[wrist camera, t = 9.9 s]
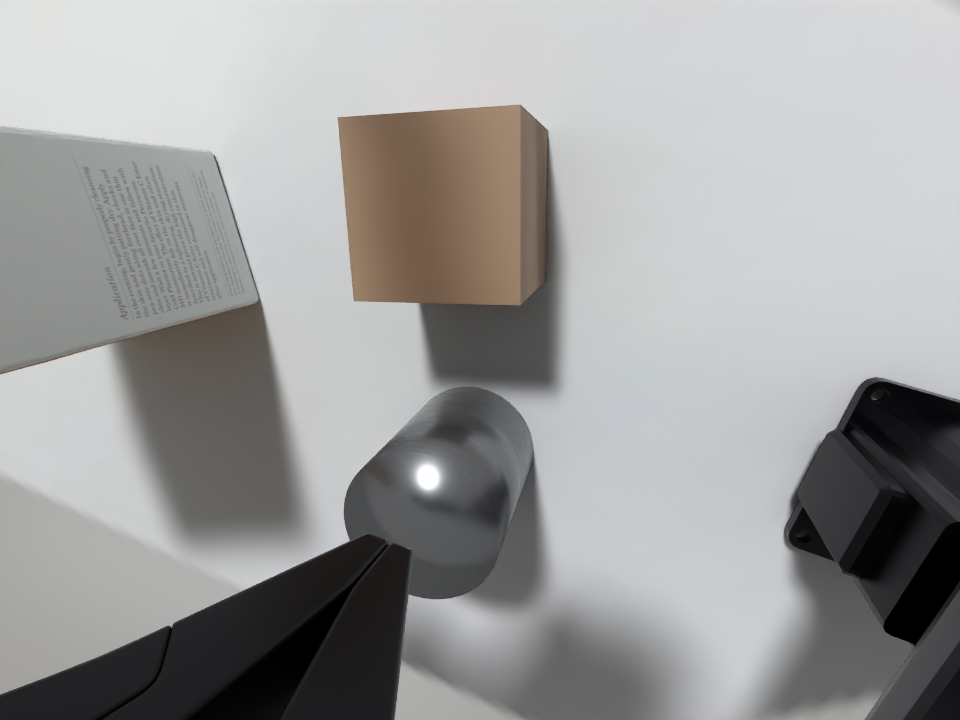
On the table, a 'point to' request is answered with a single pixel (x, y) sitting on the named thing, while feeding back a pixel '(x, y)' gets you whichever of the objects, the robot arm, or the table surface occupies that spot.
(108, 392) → the table surface
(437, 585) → the charcoal metal cylinder
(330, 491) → the table surface
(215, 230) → the small box
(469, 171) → the walnut block
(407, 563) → the robot arm
